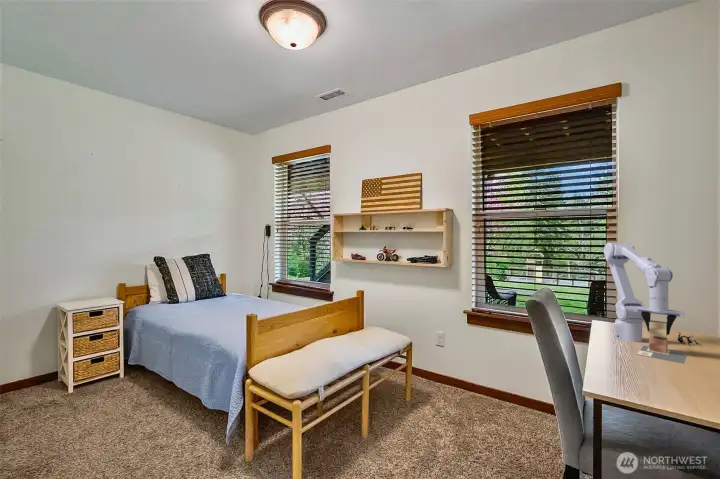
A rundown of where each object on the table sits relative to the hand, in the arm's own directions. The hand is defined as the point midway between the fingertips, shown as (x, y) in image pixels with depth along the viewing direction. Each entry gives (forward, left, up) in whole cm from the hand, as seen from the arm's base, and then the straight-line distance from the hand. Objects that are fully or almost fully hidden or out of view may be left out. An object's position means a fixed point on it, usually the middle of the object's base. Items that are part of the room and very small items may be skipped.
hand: (658, 332), depth 135 cm
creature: (+8, +21, -8) cm, 24 cm away
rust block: (0, 0, -7) cm, 7 cm away
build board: (+1, -4, -8) cm, 9 cm away
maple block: (0, 0, -1) cm, 1 cm away
